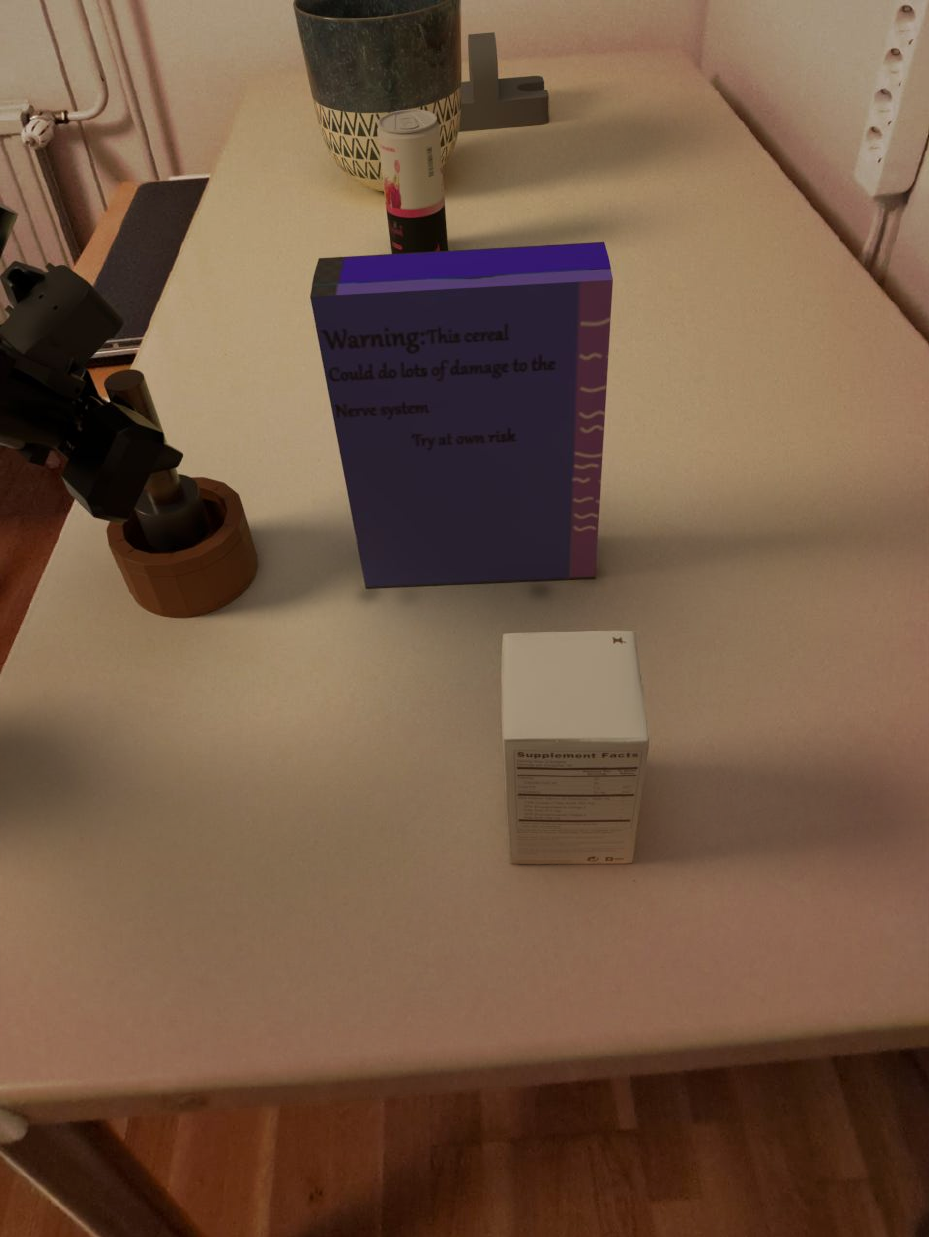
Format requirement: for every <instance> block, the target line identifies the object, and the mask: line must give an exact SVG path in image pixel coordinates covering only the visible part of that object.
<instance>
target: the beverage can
mask: <svg viewBox="0 0 929 1237" xmlns="http://www.w3.org/2000/svg"><path fill="white" fill-rule="evenodd" d="M378 126H379V127H378V128H377V134H378V142H379V151H380V159H381V168H382V176H383V185H384V202H385V208H386V217H387V226H388V234H389V243H390V253H391V254H400V253H418V252H435V251H449V242H448V240H449V239H448V227H447V214H446V201H445V185H444V172H443V167H442V157H441V143H440V129H439V123H438V122H437V116H436V115H435V114H434V113H432V112H429V111H426V110H417V109H411V110H401V111H396V112H392V113H389V114H386V115H384V116H383V117H381V118H380V119H379V120H378Z"/></svg>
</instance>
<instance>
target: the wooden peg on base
mask: <svg viewBox="0 0 929 1237" xmlns="http://www.w3.org/2000/svg"><path fill="white" fill-rule="evenodd" d="M103 386H104V390H105V392H106V395H107V397H108V399H109V402H110V401H112V399H113V396H114V394H115V393H117V394H118V395H119V396H120V397H122V398H123V399H124V400H125V401H126V402H128V403H129V404H130V405H131V406H133V407H134V408H135V410H136V412H137V413H138V414H140V415H142V416H144V417H145V418H146V419H147V420H149V421H150V422H151V423H152V424H153V425H155V426H156V427H157V428H158V429H160V430H161V431H162V432H163V433H164V432H165V431H164V428H163V426H162V423H161V420H160V418H159V415H158V412H157V409H156V405H155V403H154V400H153V397H152V395H151V394H152V393H151V391H150V388H149V387H148V383H147V381H146V377H145V374H144V373H143V372H142V371H140V370H138V369H134V368H133V369H131V368H130V369H129V368H128V369H127V368H126V369H123V370H122V369H121V370H117V371H115V372H113V373H111V374H110V375H108V376H107V377H106V378H105V379H104V381H103ZM164 442H165V443H167V444H168V441H167V438H166V435H165V433H164ZM134 509H135V511H136V514H137V516H138V519H139V521H140V524H141V526H142V529H143V531H144V534H145V536H146V539H147V541H148V543H149V544H150V545H151V546H152V547H154V548H156V549H158V550H161V551H179V550H183V549H187V548H189V547H192V546H194V545H195V544H197V543H199V542H200V541H201V540H202V539H203V538H204V537H205V536H206V535H207V534H208V532H209V529H210V520H209V517H208V514H207V511H206V508H205V505H204V501H203V498H202V495H201V492H200V489H199V486H198V484H197V482H196V481H195V480H194V479H192V478H191V476H188V475H185V474H182V473H181V474H180V473H178V470H177V468H173V469H168V470H164V471H160V472H155V473H151V475H150V477H149V479H148V481H147V483H146V485H145V487H144V489H143V491H142V494H141V496H140V498H139V500H138V502H137V504H136V506H135V508H134Z"/></svg>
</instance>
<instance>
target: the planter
mask: <svg viewBox="0 0 929 1237" xmlns="http://www.w3.org/2000/svg"><path fill="white" fill-rule="evenodd" d="M292 6H293V13H294V17H295V23H296V28H297V32H298V37H299V42H300V45H301V50H302V55H303V59H304V64H305V69H306V74H307V79H308V82H309V88H310V92H311V97H312V102H313V107H314V110H315V115H316V120H317V124H318V127H319V130H320V133H321V136H322V139H323V141H324V143H325V146H326V148H327V151H328V152H329V154H330V156H331V158H332V160H334V162H335V164H336V165H337V166H338V167H339V168H340V169H341V170H342V171H343V172H344V173H345V174H346V175H347V176H348V177H350V178H351V180H353V181H355V182H356V183H358V184H360V185H362V186H363V187H364V188H365V187H366V188H368V189H370V190H374V191H377V192H384V185H383V176H382V168H381V159H380V151H379V142H378V134H377V128H378V127H379V126H378V120H379V119H380V118H381V117H383V116H384V115H386V114H389V113H392V112H396V111H401V110H411V109H417V110H426V111H429V112H432V113H434V114H435V115H436V116H437V122H438V123H439V129H440V143H441V157H442V168H443V167H444V166H445V165H446V163H447V162H448V161H449V158H450V157H451V155H452V153H453V151H454V149H455V146H456V144H457V140H458V135H459V132H460V131H459V126H460V119H461V82H462V0H293V3H292Z"/></svg>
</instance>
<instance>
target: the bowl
mask: <svg viewBox="0 0 929 1237" xmlns="http://www.w3.org/2000/svg"><path fill="white" fill-rule="evenodd" d="M190 477H191V476H190ZM191 478H192V479H194V480H195V481H196V482H197V484H198V486H199V489H200V492H201V495H202V498H203V501H204V505H205V508H206V511H207V514H208V517H209V520H210V529H209V532H208V534H207V535H206V536H205V537H204V538H203V539H202V540H201V541H200V542H199V543H197V544H195V545H194V546H192V547H189V548H187V549H183V550H179V551H161V550H158V549H156V548H154V547H152V546H151V545H150V544H149V543H148V541H147V539H146V536H145V534H144V531H143V529H142V526H141V524H140V521H139V519H138V516H137V514H136V511H135V509H134V510H133V513H132V515H131V517H130V519H129V520H128V521H126V522H124V523H122V524H118V523H114V522H110V521H108V524H107V527H106V535H107V543H108V547H109V550H110V551H111V553H112V555H113V558H114V560H115V562H116V565H117V567H118V569H119V572H120V574H121V577H122V578H123V580H124V583H125V585H126V588H127V590H128V592H129V593H130V594H131V595H132V597H133V599H134V600H135V602H136V603H137V604H138V605H139V606H140V607H141V608H142V609H144V610H146V611H147V612H149V613H152V614H154V615H158V616H160V617H166V618H190V617H191V618H192V617H196V616H201V615H205V614H208V613H211V612H214V611H217V610H218V609H221V608H223V607H226V605H229V604H230V603H231V602H233V601H235V600H236V599H237V598H238V597H240V596H241V595H242V594H243V593H244V592H245V591H246V590H247V589H248V588H249V586H250V585H251V584H252V582H253V581H254V579H255V577H256V575H257V572H258V566H259V558H258V553H257V550H256V546H255V543H254V539H253V535H252V532H251V528H250V525H249V523H248V519H247V515H246V512H245V509H244V506H243V503H242V500H241V496H240V494H239V493H238V492H237V491H236V490H235V489H233V488H232V487H231V486H229V485H228V484H227V483H225V482H223V481H219V480H217V479H212V478H209V477H203V476H195V477H194V476H193V477H191Z"/></svg>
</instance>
